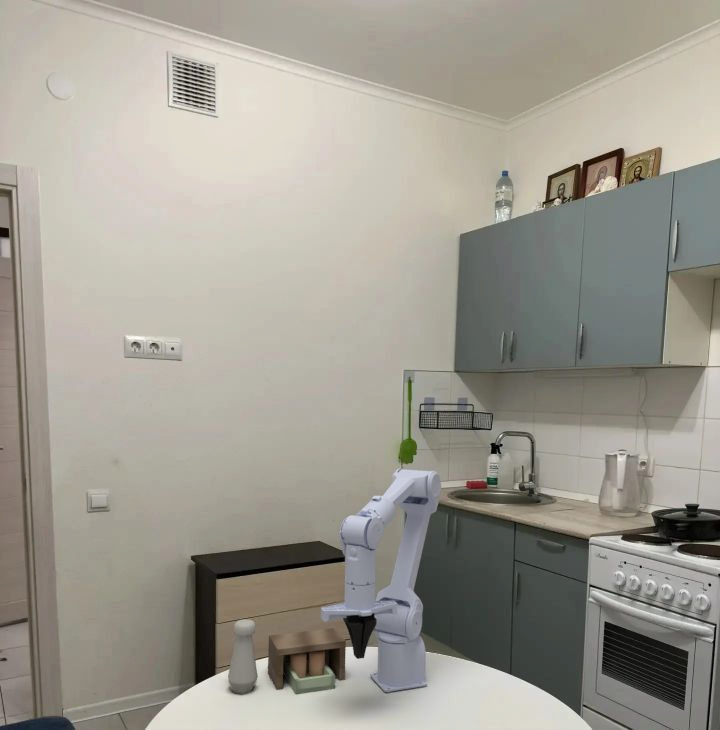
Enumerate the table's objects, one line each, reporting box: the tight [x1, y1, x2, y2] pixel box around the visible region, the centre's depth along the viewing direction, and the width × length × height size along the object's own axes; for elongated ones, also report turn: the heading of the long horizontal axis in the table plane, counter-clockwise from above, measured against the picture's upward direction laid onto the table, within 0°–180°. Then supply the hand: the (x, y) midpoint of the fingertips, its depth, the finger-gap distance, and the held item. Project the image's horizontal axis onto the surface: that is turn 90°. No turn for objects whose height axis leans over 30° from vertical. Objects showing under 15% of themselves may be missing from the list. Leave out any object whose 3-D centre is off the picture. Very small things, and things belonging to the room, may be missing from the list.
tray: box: [284, 650, 336, 695], centre depth 123 cm, size 8×9×5 cm
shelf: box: [267, 628, 347, 691], centre depth 126 cm, size 14×8×8 cm, turn 111°
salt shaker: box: [227, 618, 258, 695], centre depth 120 cm, size 6×6×13 cm
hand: (358, 656), depth 112 cm, fingers closed
